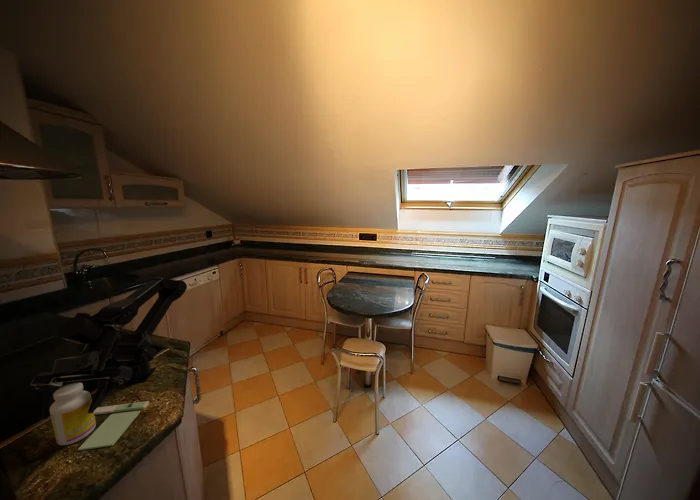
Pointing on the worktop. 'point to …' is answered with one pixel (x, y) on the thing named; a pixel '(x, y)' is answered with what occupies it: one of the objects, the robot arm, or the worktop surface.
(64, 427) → the supplement bottle
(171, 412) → the worktop surface
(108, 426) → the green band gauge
